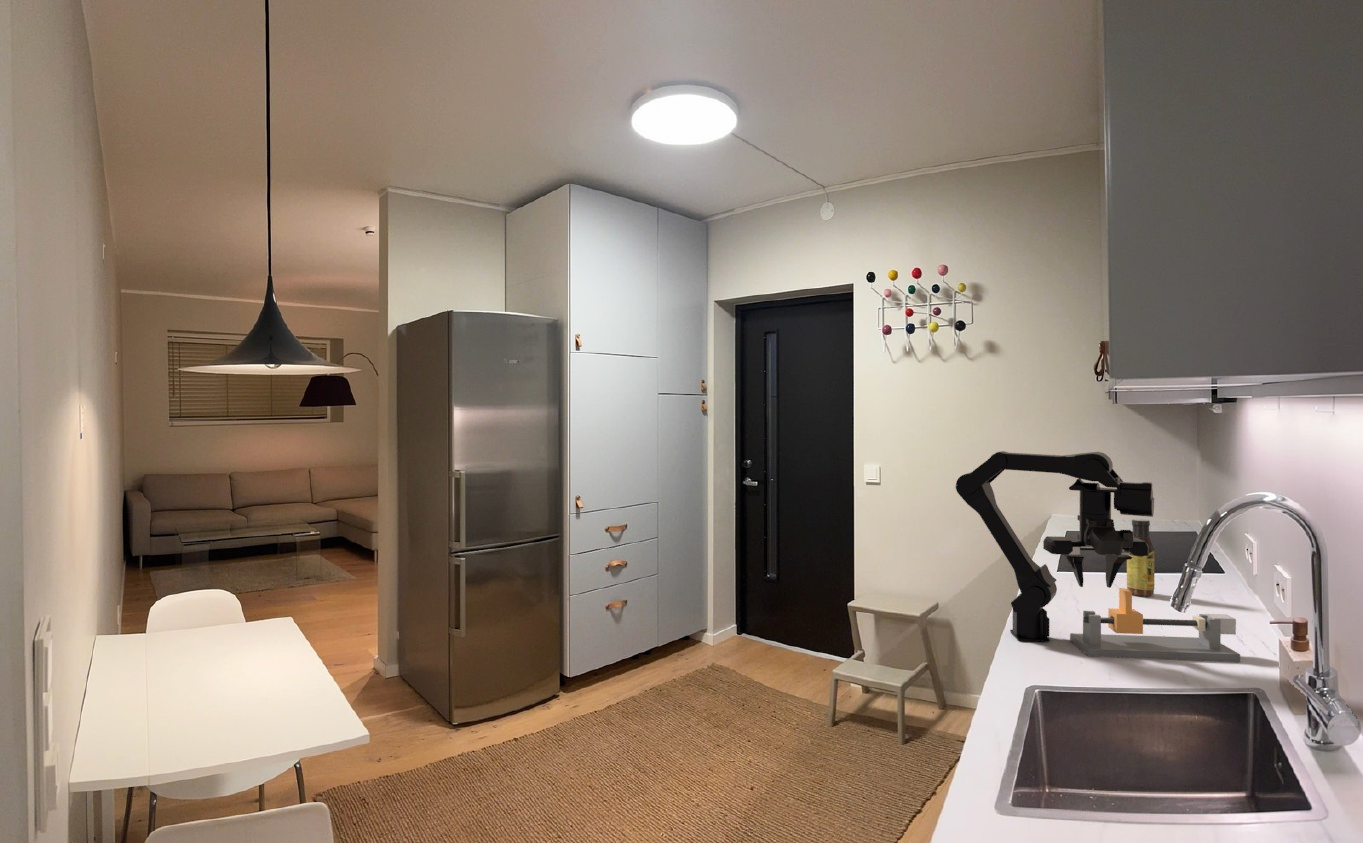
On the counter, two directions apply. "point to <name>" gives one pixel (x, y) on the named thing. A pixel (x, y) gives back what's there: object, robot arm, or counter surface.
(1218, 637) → the stand
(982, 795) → the counter surface
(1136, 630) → the orange slider block
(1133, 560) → the sauce bottle
